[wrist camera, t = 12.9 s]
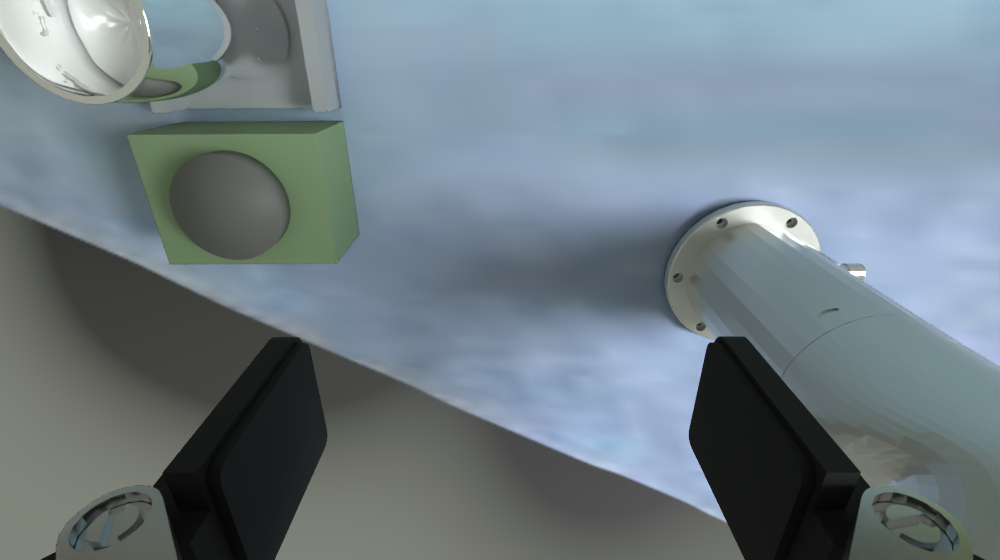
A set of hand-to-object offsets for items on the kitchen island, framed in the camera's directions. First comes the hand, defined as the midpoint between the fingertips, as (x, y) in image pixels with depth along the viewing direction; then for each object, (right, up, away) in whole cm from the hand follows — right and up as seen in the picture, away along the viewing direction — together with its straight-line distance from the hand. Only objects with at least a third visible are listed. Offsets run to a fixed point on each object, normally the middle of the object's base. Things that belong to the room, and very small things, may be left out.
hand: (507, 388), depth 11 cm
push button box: (-18, +16, +24) cm, 34 cm away
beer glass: (-18, +20, +22) cm, 34 cm away
